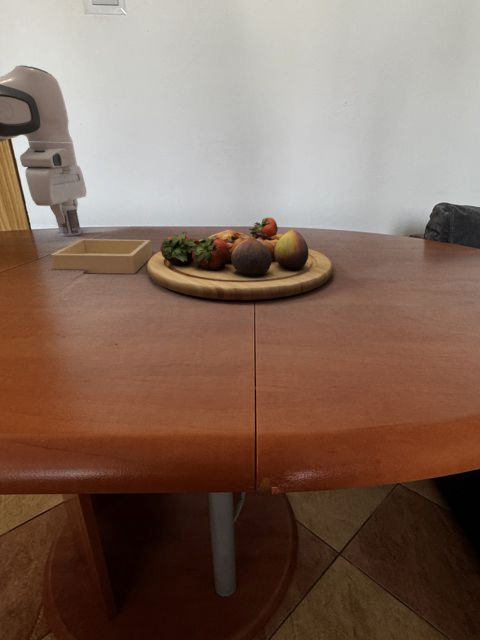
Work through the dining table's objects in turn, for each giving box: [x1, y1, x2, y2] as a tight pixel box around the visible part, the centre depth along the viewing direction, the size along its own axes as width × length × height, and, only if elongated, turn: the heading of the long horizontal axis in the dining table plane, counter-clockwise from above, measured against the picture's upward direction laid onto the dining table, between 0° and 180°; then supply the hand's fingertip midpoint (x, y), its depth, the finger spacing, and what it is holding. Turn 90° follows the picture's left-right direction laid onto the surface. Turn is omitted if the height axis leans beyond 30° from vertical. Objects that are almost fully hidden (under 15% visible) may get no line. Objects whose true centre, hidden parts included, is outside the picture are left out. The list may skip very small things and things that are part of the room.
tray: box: [50, 238, 154, 275], centre depth 69 cm, size 14×13×3 cm
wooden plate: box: [146, 217, 334, 301], centre depth 65 cm, size 32×32×8 cm
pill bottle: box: [57, 198, 82, 237], centre depth 91 cm, size 5×5×8 cm
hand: (68, 221), depth 91 cm, fingers closed on pill bottle, 5 cm apart
